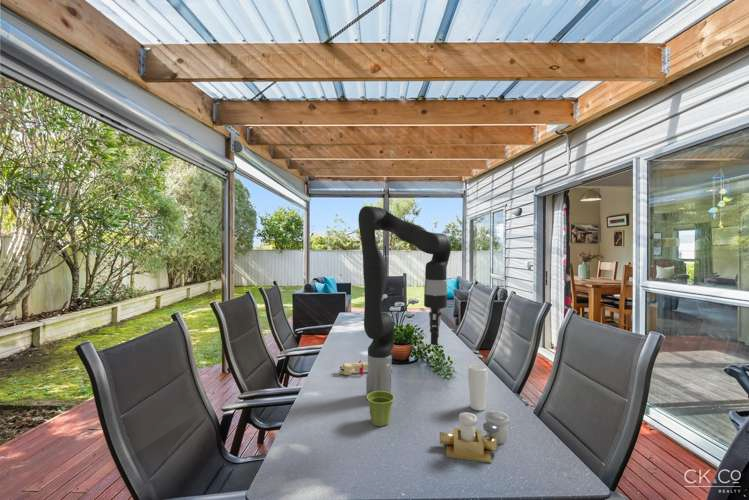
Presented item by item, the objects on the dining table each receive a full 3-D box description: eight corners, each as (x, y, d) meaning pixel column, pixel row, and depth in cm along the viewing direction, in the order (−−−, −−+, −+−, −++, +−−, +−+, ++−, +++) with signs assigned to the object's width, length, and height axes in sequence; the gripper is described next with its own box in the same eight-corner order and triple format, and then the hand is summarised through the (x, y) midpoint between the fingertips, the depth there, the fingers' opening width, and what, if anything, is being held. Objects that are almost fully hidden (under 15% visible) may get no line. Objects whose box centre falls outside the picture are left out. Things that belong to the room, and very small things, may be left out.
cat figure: (387, 370, 168) (337, 369, 163) (389, 352, 168) (339, 351, 163) (393, 378, 158) (339, 377, 153) (394, 359, 159) (341, 358, 154)
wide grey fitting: (487, 443, 102) (487, 420, 102) (482, 431, 109) (483, 409, 109) (511, 446, 101) (511, 422, 101) (505, 433, 108) (505, 411, 108)
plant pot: (397, 418, 118) (397, 393, 118) (389, 431, 109) (389, 404, 109) (372, 413, 121) (372, 389, 121) (362, 426, 112) (362, 400, 112)
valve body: (439, 456, 96) (439, 429, 96) (440, 437, 106) (440, 412, 106) (501, 464, 92) (501, 436, 92) (496, 443, 102) (496, 418, 102)
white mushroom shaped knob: (459, 451, 96) (459, 419, 96) (458, 441, 101) (458, 411, 101) (477, 453, 95) (477, 421, 95) (476, 443, 100) (476, 413, 100)
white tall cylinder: (488, 413, 121) (488, 371, 121) (468, 411, 123) (468, 369, 123) (486, 404, 128) (486, 364, 128) (467, 403, 129) (467, 363, 129)
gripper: (425, 289, 121) (425, 335, 122) (422, 295, 107) (421, 346, 108) (447, 290, 120) (446, 336, 120) (446, 296, 106) (446, 348, 106)
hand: (434, 341), depth 114 cm, fingers open, 8 cm apart
